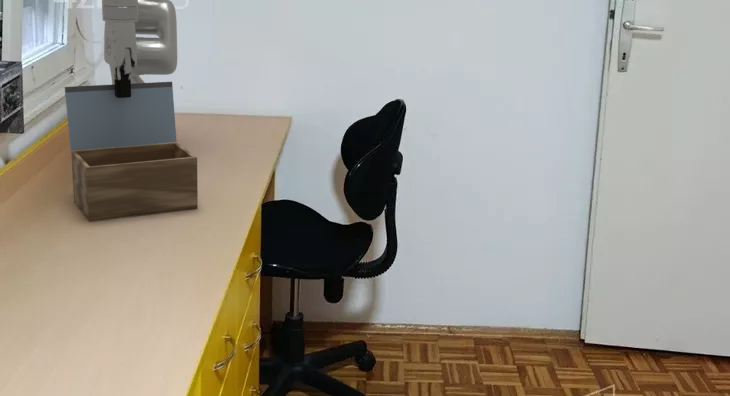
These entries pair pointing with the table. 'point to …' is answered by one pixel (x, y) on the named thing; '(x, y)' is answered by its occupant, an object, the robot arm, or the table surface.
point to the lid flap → (120, 116)
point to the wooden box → (134, 180)
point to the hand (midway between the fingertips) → (123, 96)
